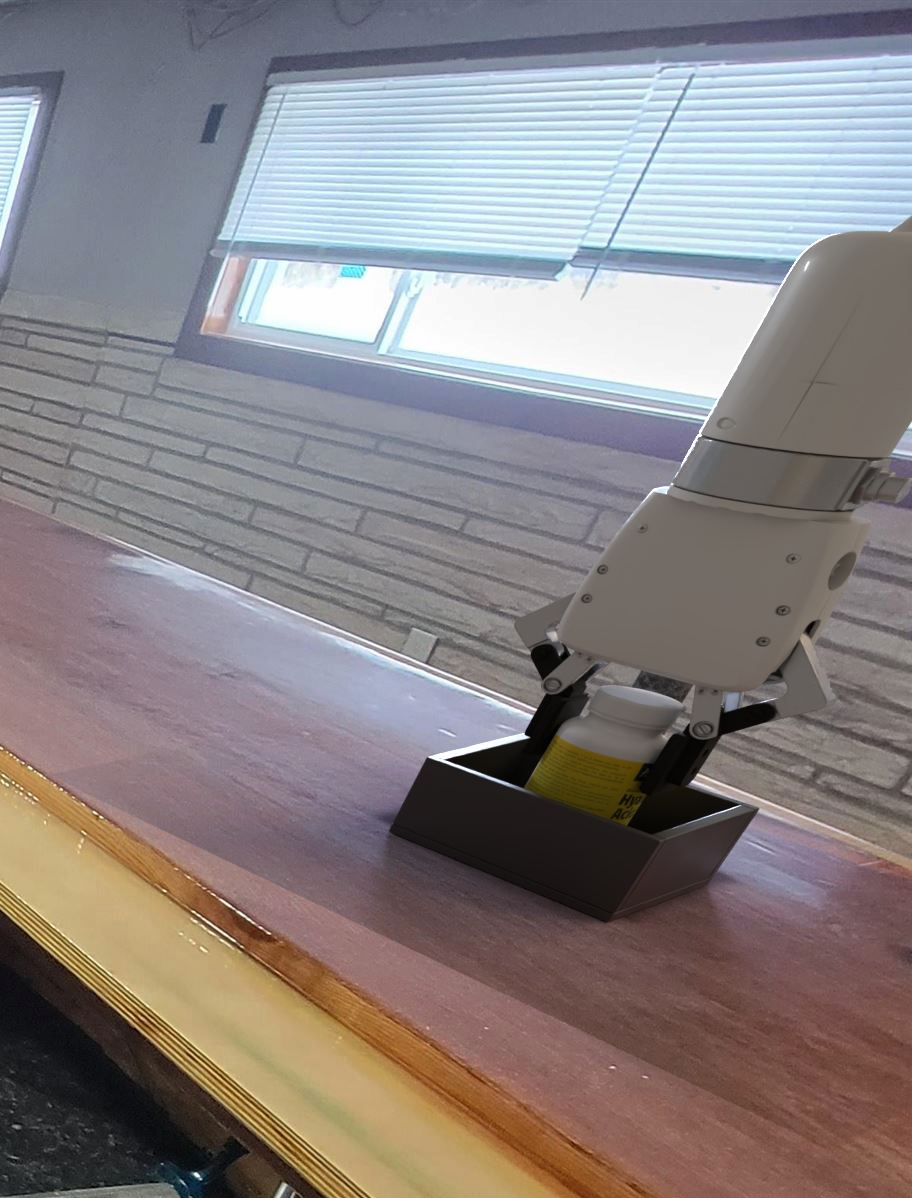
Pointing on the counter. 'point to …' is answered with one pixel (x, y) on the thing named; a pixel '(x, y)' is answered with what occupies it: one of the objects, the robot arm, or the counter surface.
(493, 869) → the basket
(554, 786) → the supplement bottle
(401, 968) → the counter surface
